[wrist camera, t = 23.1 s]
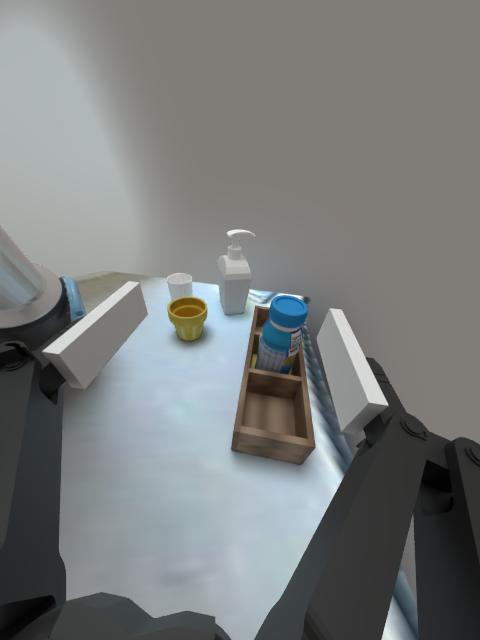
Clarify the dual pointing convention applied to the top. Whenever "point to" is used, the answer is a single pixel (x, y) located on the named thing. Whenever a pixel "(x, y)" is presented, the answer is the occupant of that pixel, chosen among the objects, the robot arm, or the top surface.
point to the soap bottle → (234, 276)
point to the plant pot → (188, 316)
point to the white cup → (180, 285)
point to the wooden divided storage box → (273, 406)
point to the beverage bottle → (281, 334)
